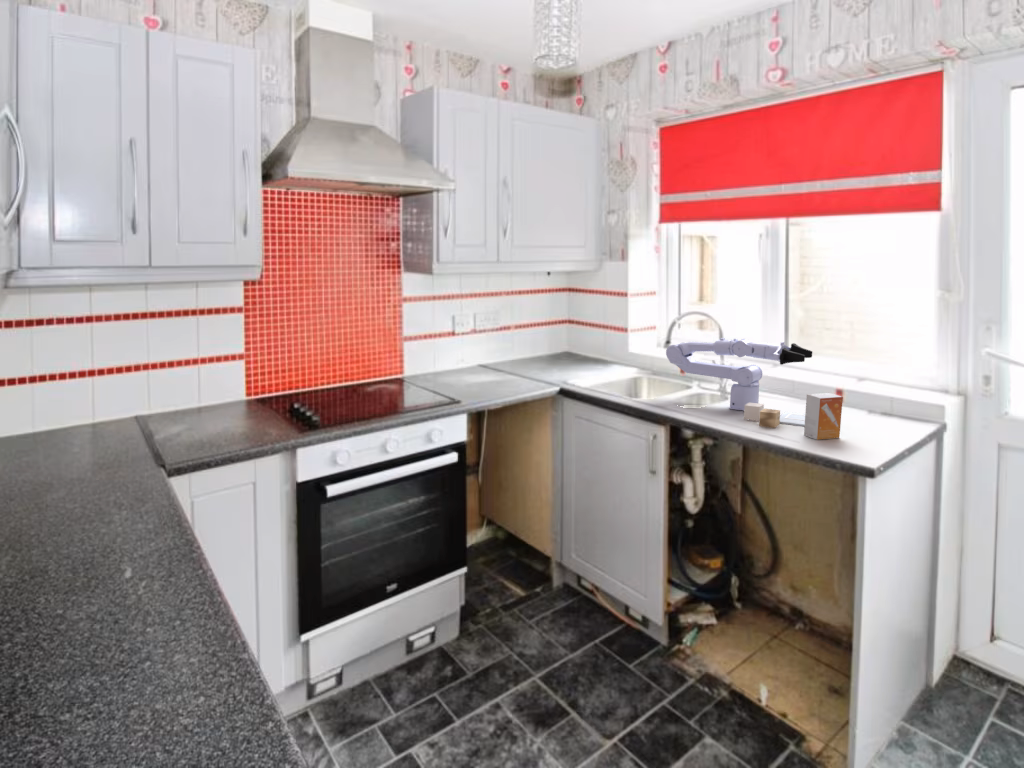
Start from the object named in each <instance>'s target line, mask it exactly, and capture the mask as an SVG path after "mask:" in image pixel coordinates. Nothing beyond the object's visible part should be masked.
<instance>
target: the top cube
mask: <svg viewBox="0 0 1024 768" xmlns="http://www.w3.org/2000/svg"><path fill="white" fill-rule="evenodd" d="M763 409H765V404H764V403H759V402H758V403H750V402H749V403H747V404H746V405H745V407H744V410H743V420H746V419H750V420H749V421H754V420H756V422H760V411H762V410H763Z"/></svg>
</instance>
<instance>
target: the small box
mask: <svg viewBox="0 0 1024 768" xmlns="http://www.w3.org/2000/svg"><path fill="white" fill-rule="evenodd" d="M843 400H844V397H843V395H842V396H841V395H838V394H835V393H831V392H825V393H823V392H822V393H820V392H819V393H811V394H806V402H805V412H804V414H805V426H803V427H804V429H803V430H804V431H803V436H806V437H808V438H811V439H814V440H817V441H819V440H826V439H827V440H829V439H832V440H833V439H839V438H840V434H841V433H840V432H841V425H842V424H841V423H842V410H843V402H844V401H843Z"/></svg>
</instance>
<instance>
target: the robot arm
mask: <svg viewBox="0 0 1024 768" xmlns="http://www.w3.org/2000/svg"><path fill="white" fill-rule="evenodd" d="M665 350H666V351H665V355H666V358H667V359H668V361H669V363H670V364H673V365H675V366H676V367H677V368H679V369H680V370H682V372H684V373H687V374H690V375H699V376H706V377H714V378H721V379H724V380H725V379H726V380H727V379H728V380H731V381H732V382H734V383H733V384H732V385H731V388H730V392H729V393H730V395H729V398H730V399H729V408H728V409H730V410H737V411H744V407H745V405H746V404H747V403H749V402H750V403H759V399H760V398H759V397H760V382H759V381H760V380H761V379H762V377H763V370H762V369H761V367H760V366H758V365H756V364H751V365H748V366H747V365H746V366H745V365H739V366H738V365H736V366H735V365H730V364H729V365H727V364H719V363H713V362H705V361H704V362H703V361H696V359H695V358H694V357H695V356H694V353H695V352H714V354H715V355H717V356H733V357H734V356H737V358H742V357H745V356H746V357H752V358H756V359H763V360H769V361H776V362H779V364H780V365H781V366H782V365H786V364H789V363H803V362H805V360H806V359H810V358H812V357H813V351H812V350H809V349H807V348H804V347H801V346H799V345H798V344H797V343H795V342H794V343H791V344H790V346H788V345H786V344H785V341H783V340H782V341H781V342H780V343H778V344H777V343H772V342H770V343H769V342H762V341H752V340H749V339H746V338H741V339H740V340H738V338H733V339H726V337H720V338H719V339H716V340H715V341H714V342H703V341H687V342H680V343H677V344H671V345H668V347H666V349H665ZM735 382H736V383H735Z"/></svg>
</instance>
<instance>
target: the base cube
mask: <svg viewBox="0 0 1024 768" xmlns="http://www.w3.org/2000/svg"><path fill="white" fill-rule="evenodd" d="M780 415H781V410H780V409H774V408H773V409H771V408H764V409H763V410H762V411H760V421H758V422H759V423H758V424H759V427H763V428H764V427H765V428H770V429H771V428H772V429H776V428H777V427H778V426H780V423H779V422H780Z"/></svg>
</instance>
